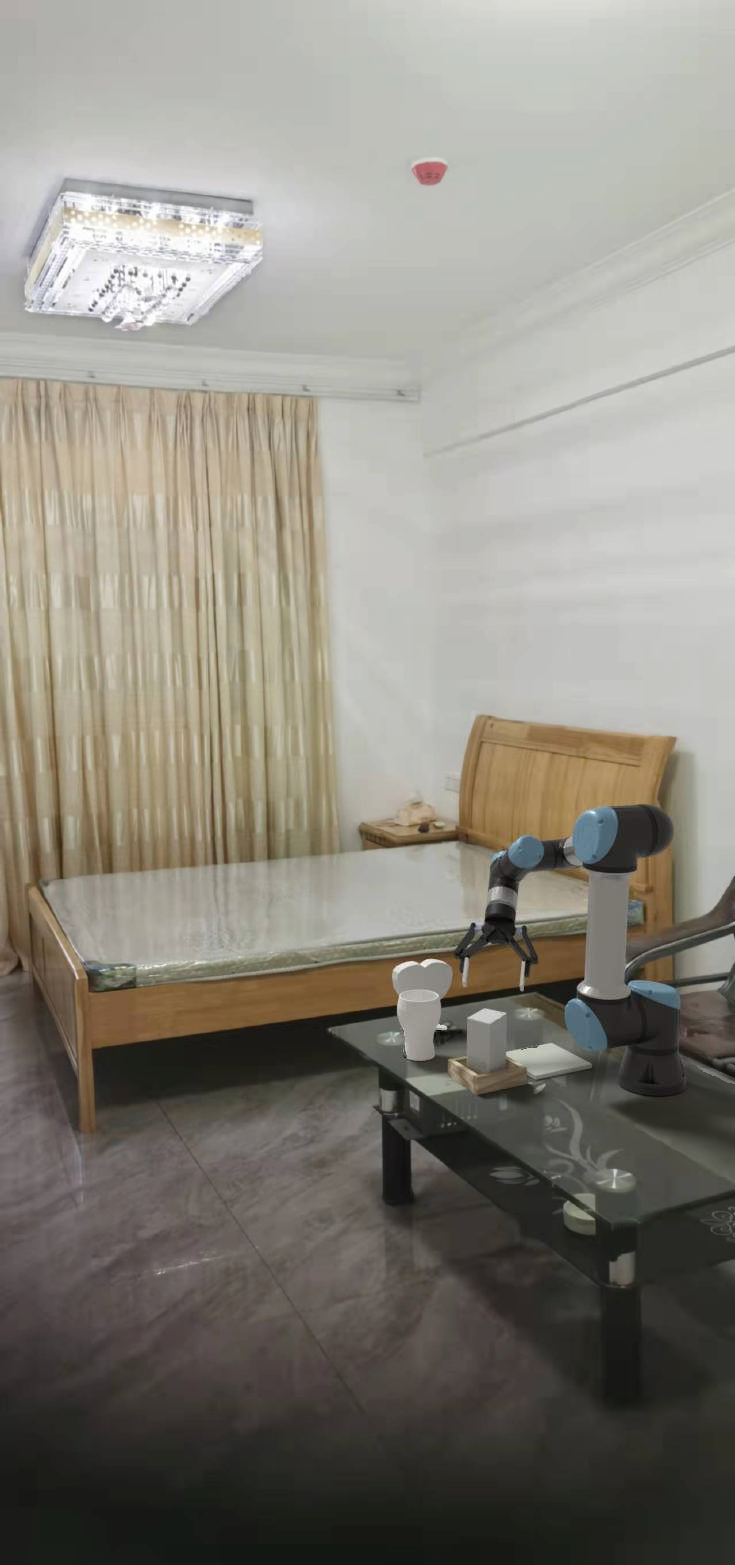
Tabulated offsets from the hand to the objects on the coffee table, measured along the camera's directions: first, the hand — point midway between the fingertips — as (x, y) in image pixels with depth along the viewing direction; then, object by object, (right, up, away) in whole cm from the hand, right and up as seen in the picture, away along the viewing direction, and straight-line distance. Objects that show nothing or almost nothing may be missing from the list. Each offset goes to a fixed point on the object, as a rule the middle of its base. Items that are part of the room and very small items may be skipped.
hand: (492, 986), depth 277 cm
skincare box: (-2, -20, -8) cm, 22 cm away
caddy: (-2, -20, -8) cm, 22 cm away
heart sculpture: (-15, -16, +26) cm, 34 cm away
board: (+12, -19, +2) cm, 22 cm away
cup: (-17, -18, +8) cm, 26 cm away
